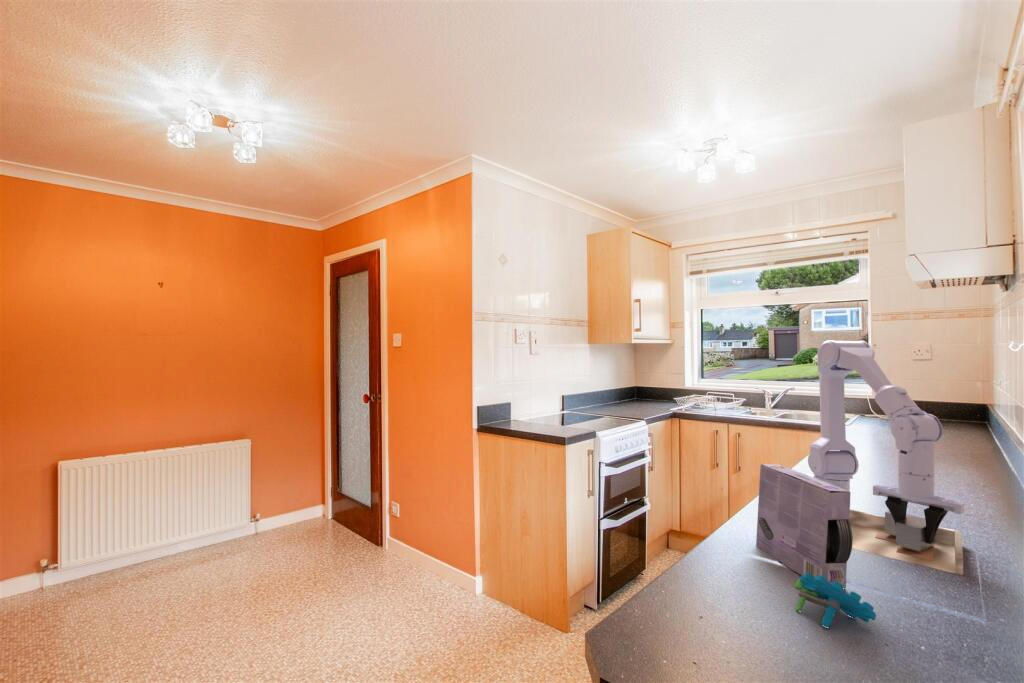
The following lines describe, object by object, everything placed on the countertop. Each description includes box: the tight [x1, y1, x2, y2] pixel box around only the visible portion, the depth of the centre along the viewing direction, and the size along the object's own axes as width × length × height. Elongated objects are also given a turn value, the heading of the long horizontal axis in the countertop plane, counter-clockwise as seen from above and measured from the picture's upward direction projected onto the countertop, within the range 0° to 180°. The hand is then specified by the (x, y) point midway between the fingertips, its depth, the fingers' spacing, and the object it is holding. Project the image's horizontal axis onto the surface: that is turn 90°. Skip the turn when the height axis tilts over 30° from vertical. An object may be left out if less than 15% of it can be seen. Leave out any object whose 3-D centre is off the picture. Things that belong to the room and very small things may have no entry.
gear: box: [794, 573, 877, 628], centre depth 74 cm, size 11×6×10 cm
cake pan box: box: [755, 463, 853, 588], centre depth 92 cm, size 19×5×18 cm, turn 9°
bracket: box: [884, 510, 937, 551], centre depth 102 cm, size 9×8×4 cm
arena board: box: [849, 509, 964, 576], centre depth 103 cm, size 23×18×4 cm
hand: (915, 538), depth 100 cm, fingers closed on bracket, 4 cm apart
